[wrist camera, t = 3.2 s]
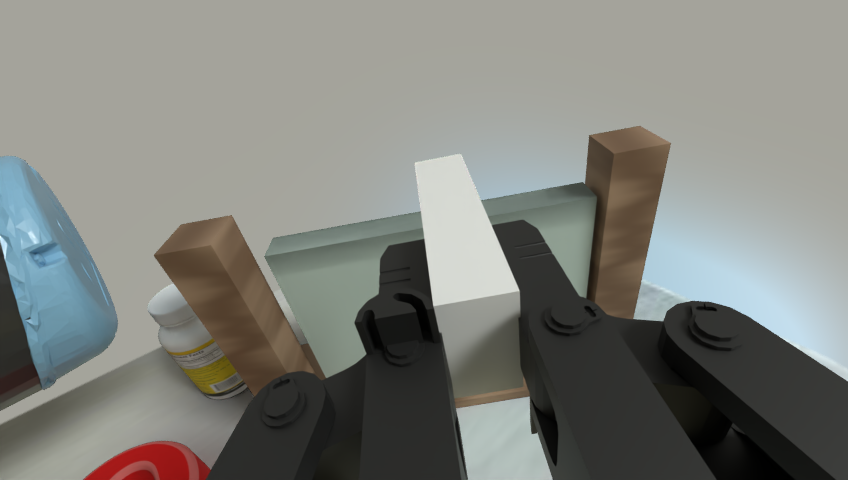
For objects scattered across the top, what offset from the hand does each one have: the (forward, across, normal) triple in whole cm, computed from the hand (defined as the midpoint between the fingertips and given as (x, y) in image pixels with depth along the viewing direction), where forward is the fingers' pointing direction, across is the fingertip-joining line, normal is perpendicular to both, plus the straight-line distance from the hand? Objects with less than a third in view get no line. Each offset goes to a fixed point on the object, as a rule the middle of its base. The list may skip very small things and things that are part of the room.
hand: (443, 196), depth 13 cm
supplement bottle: (+12, -20, -20) cm, 31 cm away
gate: (+9, -1, -18) cm, 20 cm away
